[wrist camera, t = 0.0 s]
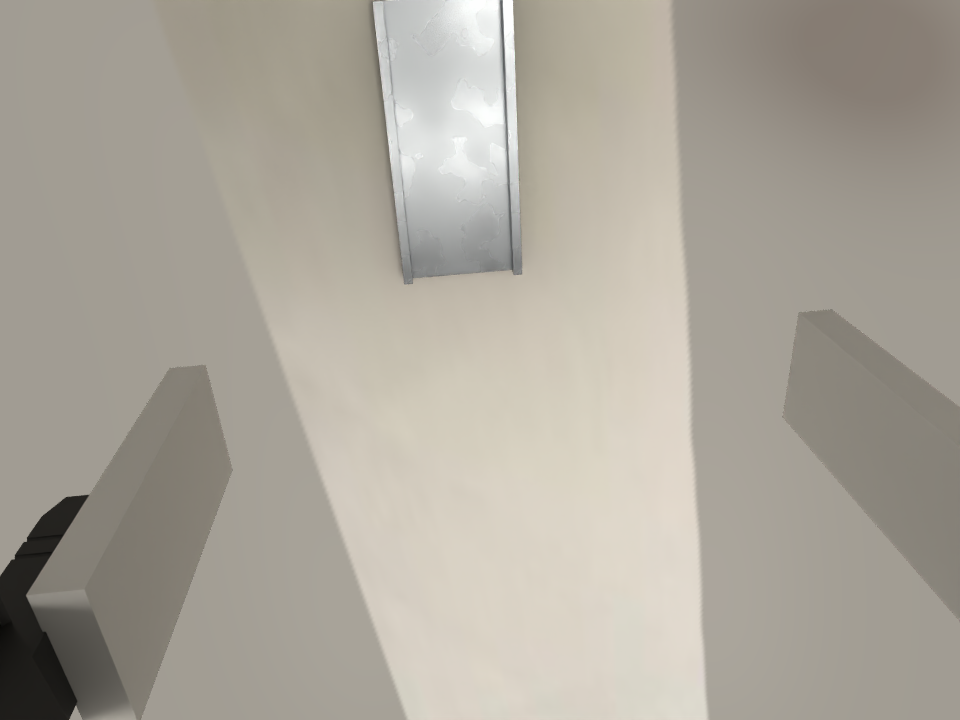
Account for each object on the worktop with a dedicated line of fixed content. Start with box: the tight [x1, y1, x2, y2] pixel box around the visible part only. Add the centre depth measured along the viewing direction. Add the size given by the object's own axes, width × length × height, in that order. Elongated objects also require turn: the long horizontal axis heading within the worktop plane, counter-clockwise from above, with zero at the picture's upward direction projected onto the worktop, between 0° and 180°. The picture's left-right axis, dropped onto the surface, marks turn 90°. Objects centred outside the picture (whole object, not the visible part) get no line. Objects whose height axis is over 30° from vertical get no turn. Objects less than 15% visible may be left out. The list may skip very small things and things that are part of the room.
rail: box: [373, 0, 522, 284], centre depth 41 cm, size 15×7×1 cm, turn 3°
